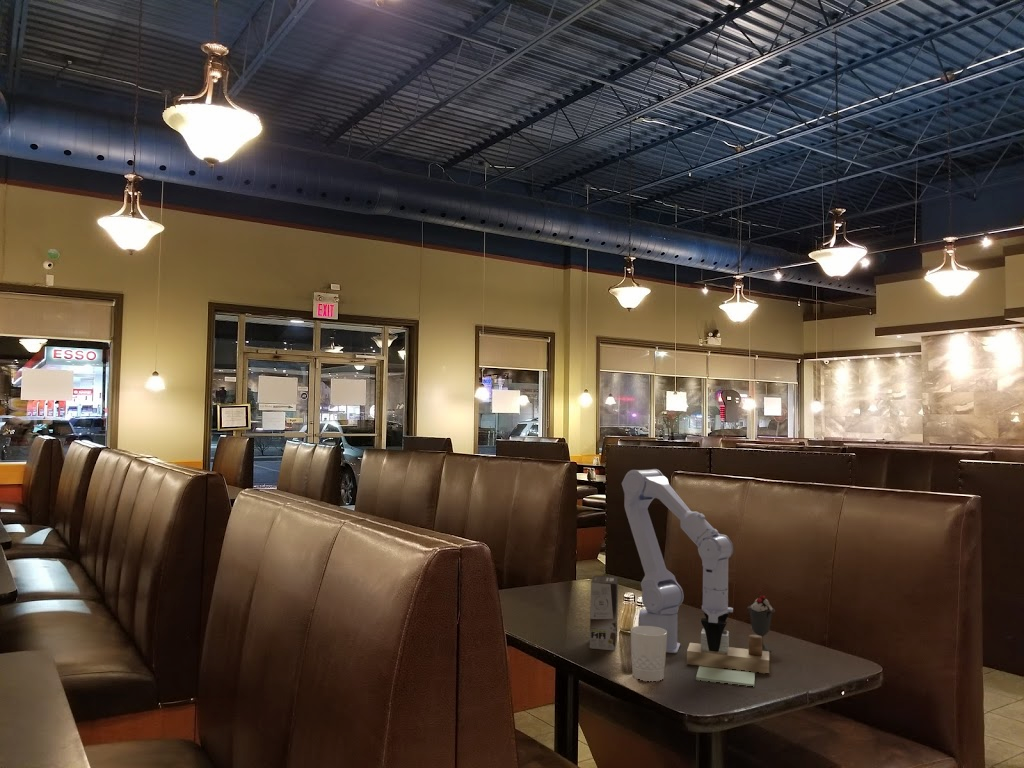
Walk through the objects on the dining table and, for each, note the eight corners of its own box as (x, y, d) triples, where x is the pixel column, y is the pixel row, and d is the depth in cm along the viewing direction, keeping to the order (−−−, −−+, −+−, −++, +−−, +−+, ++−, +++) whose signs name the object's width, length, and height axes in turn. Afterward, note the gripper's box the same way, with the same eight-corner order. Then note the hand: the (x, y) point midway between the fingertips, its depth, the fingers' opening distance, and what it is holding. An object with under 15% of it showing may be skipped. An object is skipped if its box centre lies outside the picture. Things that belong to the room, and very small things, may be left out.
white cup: (641, 668, 171) (641, 623, 172) (673, 676, 166) (673, 630, 167) (623, 677, 165) (623, 630, 166) (655, 685, 160) (656, 637, 161)
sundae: (756, 654, 184) (757, 592, 184) (741, 646, 190) (741, 586, 191) (780, 653, 185) (780, 591, 186) (764, 645, 192) (764, 585, 192)
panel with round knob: (686, 663, 175) (687, 633, 176) (689, 655, 182) (690, 625, 182) (769, 673, 169) (769, 642, 170) (769, 664, 176) (769, 634, 176)
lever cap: (700, 650, 176) (700, 630, 176) (702, 645, 180) (702, 625, 180) (727, 653, 174) (727, 633, 174) (728, 648, 178) (728, 628, 178)
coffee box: (615, 651, 184) (616, 583, 185) (588, 648, 185) (590, 582, 186) (617, 640, 193) (618, 576, 194) (592, 638, 194) (593, 574, 195)
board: (696, 679, 164) (696, 677, 164) (699, 668, 172) (699, 666, 172) (754, 687, 161) (754, 684, 161) (754, 675, 168) (754, 672, 168)
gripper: (731, 596, 169) (731, 657, 169) (734, 583, 183) (734, 640, 182) (699, 593, 172) (698, 654, 171) (704, 580, 185) (703, 637, 185)
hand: (714, 646), depth 177 cm, fingers open, 6 cm apart
